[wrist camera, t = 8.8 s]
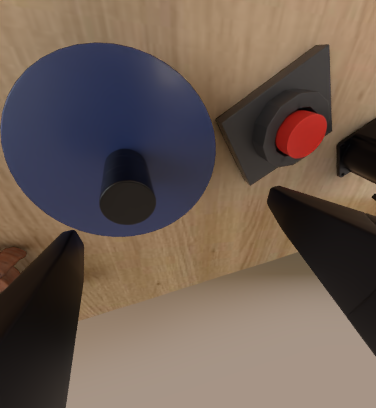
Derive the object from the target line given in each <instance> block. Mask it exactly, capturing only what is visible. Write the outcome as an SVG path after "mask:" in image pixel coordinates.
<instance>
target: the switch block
mask: <svg viewBox="0 0 376 408" xmlns="http://www.w3.org/2000/svg"><path fill="white" fill-rule="evenodd" d="M298 110H306V111H310V112H313V113H317V114H320V115H322V116H324V118H325V119H326V122H327V129H326V133H325V136H326V135H327V134H329V133H330V132H332V115H331V84H330V53H329V44H328V45H316V46H314V47H313V48H312V49H310V50H309V51H307V52H306V53H305V54H303V55H302V56H301V57H299V58H298V59H297V60H295V61H294V62H293V63H291V64H290V65H289V66H287V67H286V68H285V69H283V70H282V71H280V72H279V73H278V74H276V75H275V76H274V77H272V78H271V79H270V80H268V81H267V82H266V83H264V84H263V85H262V86H260V87H259V88H258V89H256V90H255V91H253V92H252V93H251V94H249V95H248V96H247V97H245V98H244V99H243V100H241V101H240V102H239V103H237V104H236V105H235V106H233V107H232V108H231V109H229V110H228V111H226V112H225V113H224V114H222V115H221V116H220V117H218V118H217V119H216V122H217V124H218V126H219V128H220V130H221V132H222V134H223V136H224V138H225V140H226V143H227V145H228V147H229V149H230V151H231V153H232V155H233V157H234V159H235V161H236V164H237V166H238V168H239V170H240V172H241V174H242V176H243V178H244V180H245V181H246V182H247V183H248V184H249V185H252V184H253V183H255V182H256V181H258V180H259V179H261V178H262V177H264V176H265V175H267V174H268V173H270V172H272V171H273V170H275V169H276V168H278V167H283V166H288V165H293V164H295V163H296V162H298V161H300V160H301V159H303V158H304V157H303V158H292V157H290V156H289V155H287V154H285V153H283V152H282V151H280V150H279V149H278V148H277V146H276V142H275V139H276V134H277V131H278V128H279V127H280V125H281V124H282V123H283V121H284V120H285V118H287V117H288V116H289V115H290V114H292V113H293V112H295V111H298ZM305 157H306V156H305Z"/></svg>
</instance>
